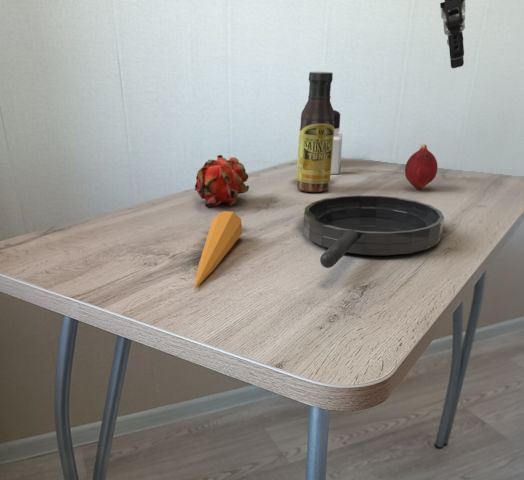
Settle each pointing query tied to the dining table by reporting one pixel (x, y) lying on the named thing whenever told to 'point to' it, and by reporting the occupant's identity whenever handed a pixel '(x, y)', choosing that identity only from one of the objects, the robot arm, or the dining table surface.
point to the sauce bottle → (316, 136)
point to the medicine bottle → (336, 145)
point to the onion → (421, 168)
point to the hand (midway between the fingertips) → (457, 63)
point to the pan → (374, 224)
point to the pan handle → (339, 249)
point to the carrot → (218, 242)
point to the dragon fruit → (221, 181)
